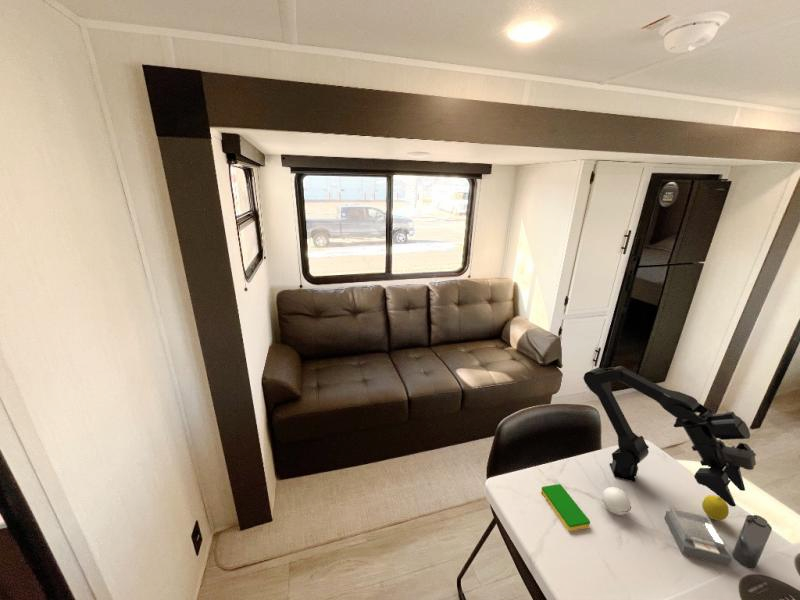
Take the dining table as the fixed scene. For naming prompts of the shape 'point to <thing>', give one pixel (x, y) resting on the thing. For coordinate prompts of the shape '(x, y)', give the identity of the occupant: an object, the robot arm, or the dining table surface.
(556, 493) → the dish sponge
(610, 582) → the dining table surface
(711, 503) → the lemon
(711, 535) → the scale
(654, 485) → the dining table surface
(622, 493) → the white egg
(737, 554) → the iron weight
